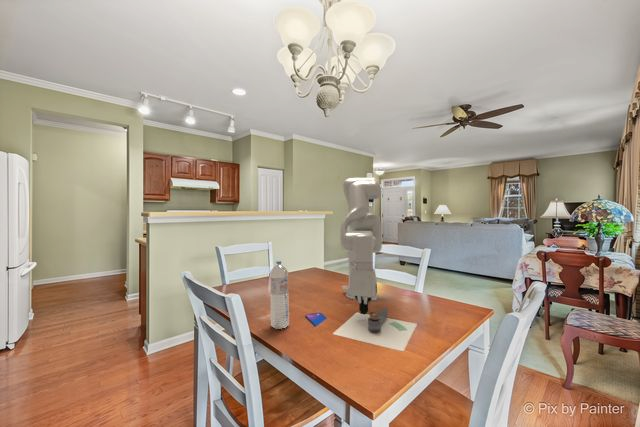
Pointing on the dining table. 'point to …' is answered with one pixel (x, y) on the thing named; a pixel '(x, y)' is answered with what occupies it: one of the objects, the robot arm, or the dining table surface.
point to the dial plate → (390, 335)
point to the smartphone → (316, 318)
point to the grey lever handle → (377, 320)
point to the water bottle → (279, 296)
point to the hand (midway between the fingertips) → (363, 313)
